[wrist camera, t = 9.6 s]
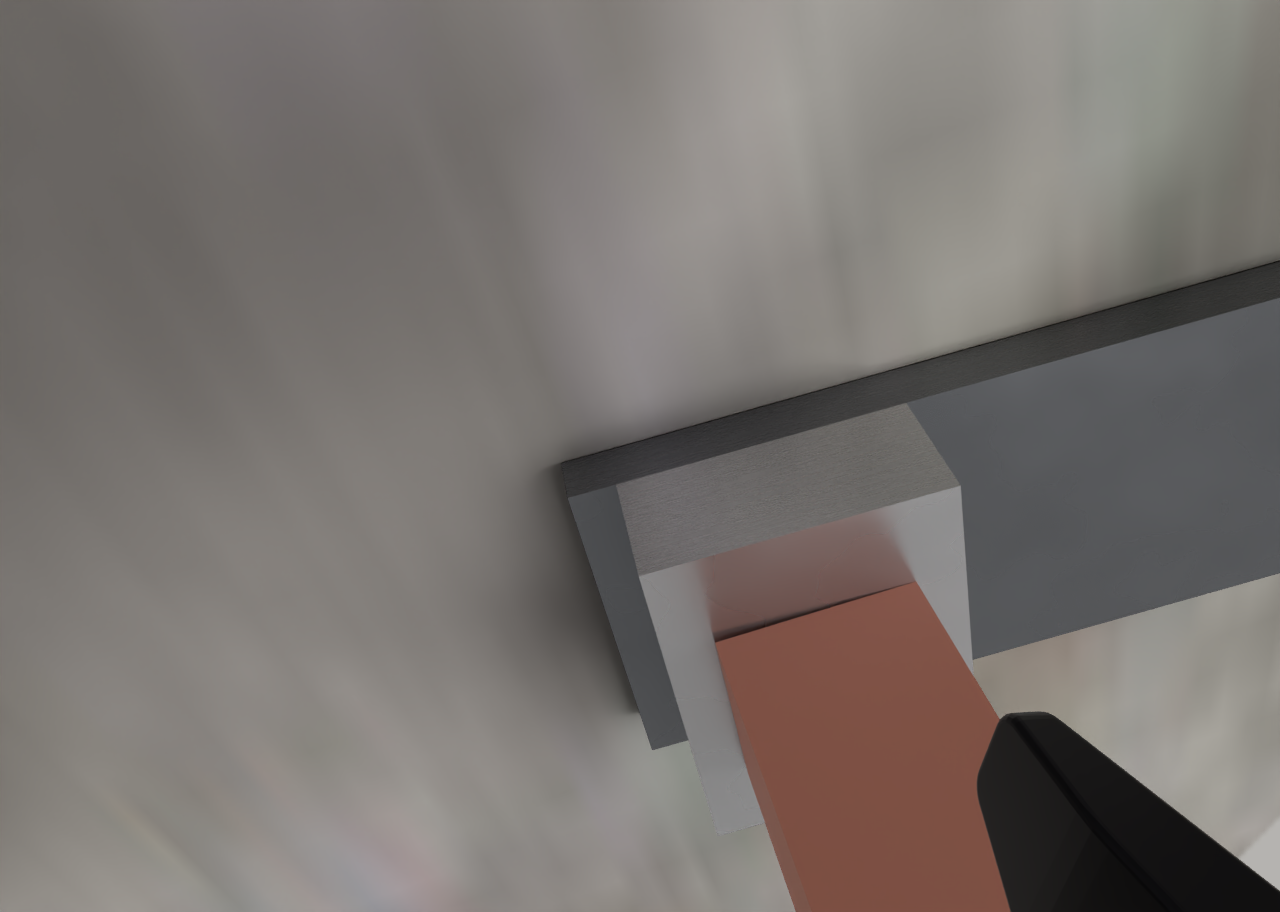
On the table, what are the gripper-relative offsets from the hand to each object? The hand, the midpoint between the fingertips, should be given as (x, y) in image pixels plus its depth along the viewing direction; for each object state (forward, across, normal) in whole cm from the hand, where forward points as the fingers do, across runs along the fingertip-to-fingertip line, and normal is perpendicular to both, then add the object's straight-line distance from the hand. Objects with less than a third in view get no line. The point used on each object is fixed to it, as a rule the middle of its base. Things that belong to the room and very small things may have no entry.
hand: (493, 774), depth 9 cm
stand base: (+13, -11, +7) cm, 19 cm away
